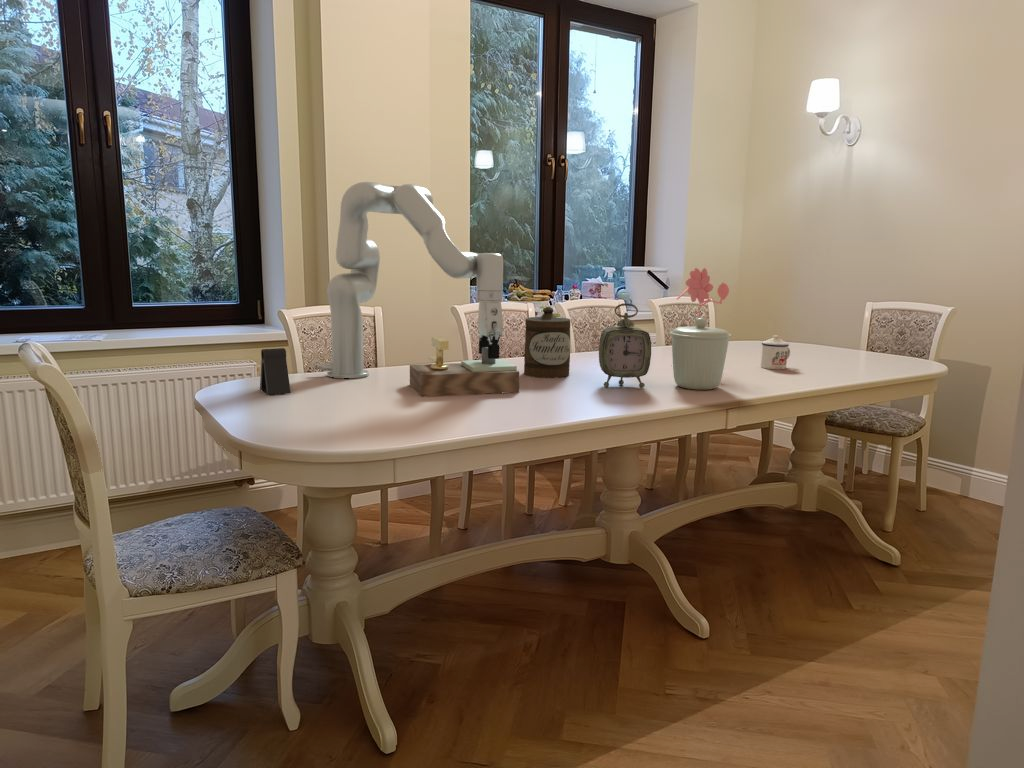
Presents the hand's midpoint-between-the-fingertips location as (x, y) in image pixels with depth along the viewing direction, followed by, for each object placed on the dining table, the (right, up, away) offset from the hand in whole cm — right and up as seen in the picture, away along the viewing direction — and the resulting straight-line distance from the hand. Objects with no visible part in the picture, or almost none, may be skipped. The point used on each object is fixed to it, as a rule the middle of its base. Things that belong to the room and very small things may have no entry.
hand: (488, 355), depth 216 cm
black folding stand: (-59, -11, -11) cm, 61 cm away
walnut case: (-7, -9, -1) cm, 12 cm away
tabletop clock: (+40, -9, +9) cm, 42 cm away
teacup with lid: (+102, -2, +51) cm, 114 cm away
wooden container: (+18, -5, +27) cm, 33 cm away
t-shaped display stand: (-15, -3, -2) cm, 15 cm away
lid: (0, -3, +1) cm, 3 cm away
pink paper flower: (+71, -2, +49) cm, 86 cm away
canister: (+63, -9, +10) cm, 64 cm away
